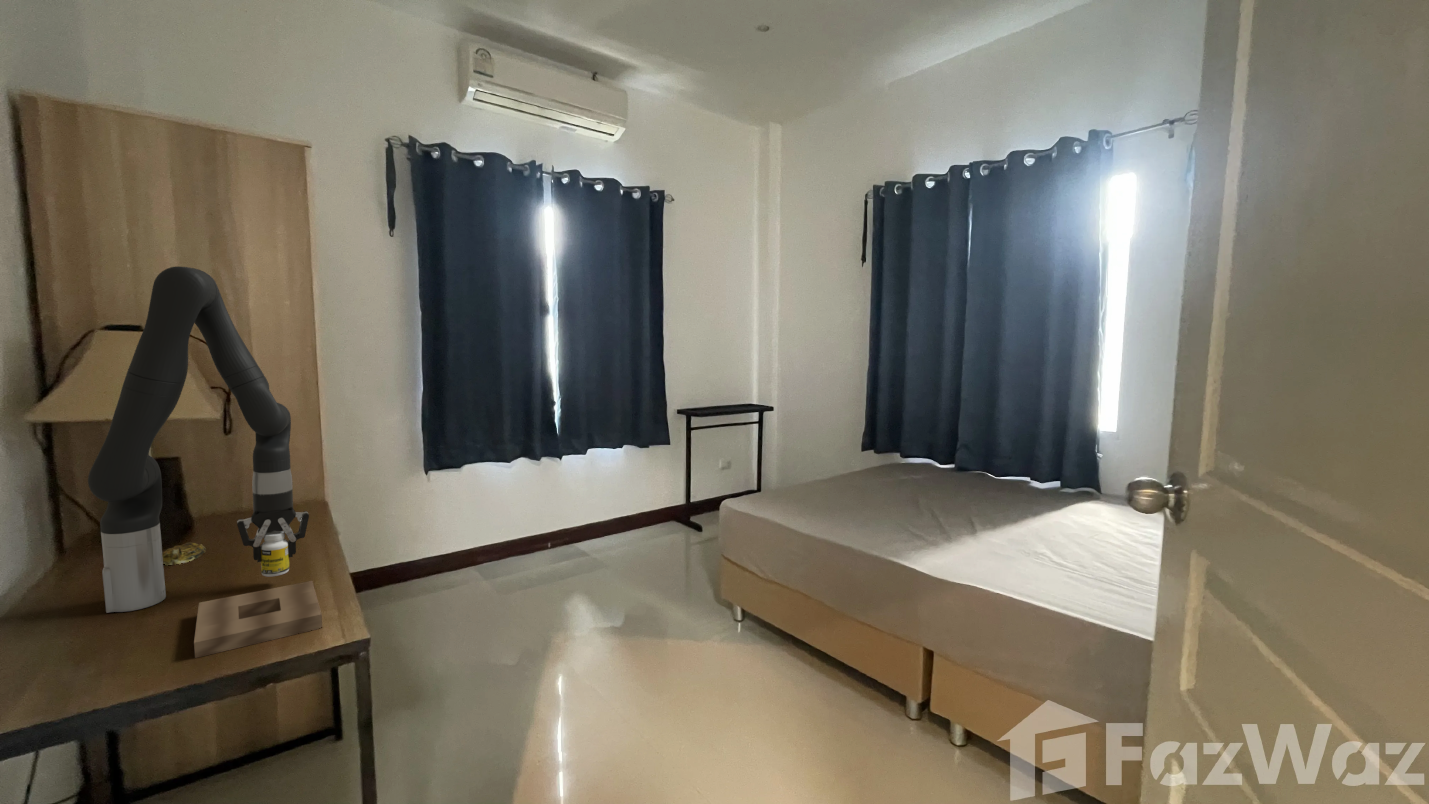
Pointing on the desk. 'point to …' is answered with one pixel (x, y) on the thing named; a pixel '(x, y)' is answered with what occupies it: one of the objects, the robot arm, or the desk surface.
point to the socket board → (256, 618)
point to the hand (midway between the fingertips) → (275, 558)
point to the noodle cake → (183, 553)
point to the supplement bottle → (274, 554)
